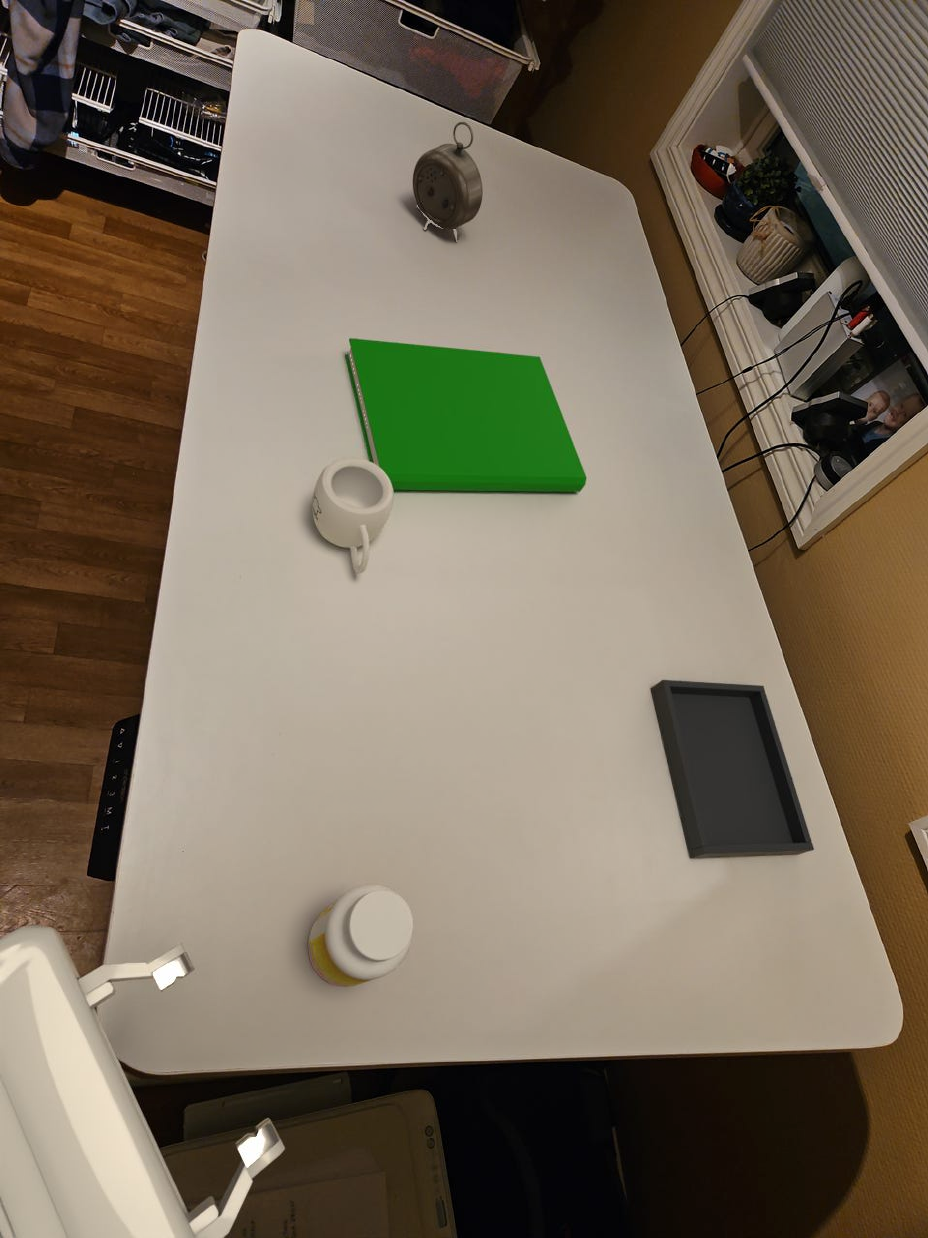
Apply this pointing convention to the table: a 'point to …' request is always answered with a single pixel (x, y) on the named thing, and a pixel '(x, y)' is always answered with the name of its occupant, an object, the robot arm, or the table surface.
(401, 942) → the supplement bottle
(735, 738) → the tray
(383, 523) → the mug
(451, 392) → the book
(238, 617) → the table surface
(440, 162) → the alarm clock
